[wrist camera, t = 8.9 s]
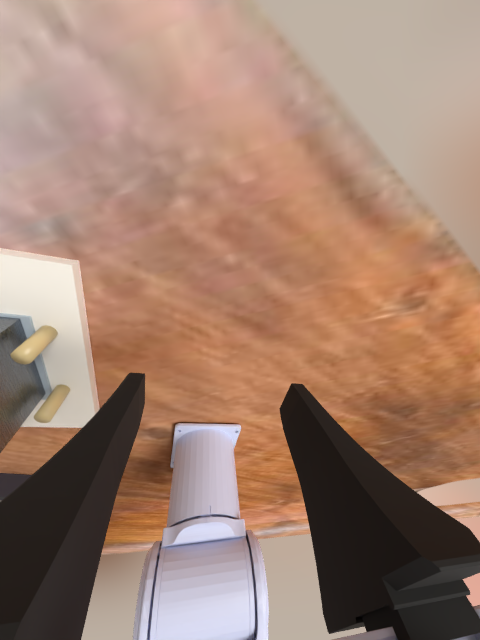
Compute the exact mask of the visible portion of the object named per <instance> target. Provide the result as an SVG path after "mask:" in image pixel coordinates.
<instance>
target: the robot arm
mask: <svg viewBox="0 0 480 640" xmlns="http://www.w3.org/2000/svg"><path fill="white" fill-rule="evenodd" d="M144 404H145V374H142V373H129V374H128V375H127V376H126V378H125V379H124V380H123V382H122V383H121V384H120V386H119V387H118V388H117V390H116V391H115V392H114V393H113V394H112V396H111V397H110V398H109V399H108V400H107V402H106V403H105V404H104V405H103V406H102V407H101V408H100V410H99V411H98V412H97V413H96V414H95V415H94V416H93V417H92V418H91V419H90V421H89V422H88V423H87V424H86V425H85V426H84V427H83V428H82V429H81V430H80V431H79V432H78V433H77V434H76V435H75V436H74V437H73V438H72V439H71V440H70V441H69V442H68V443H67V444H66V445H65V446H64V447H63V448H62V449H61V450H60V451H58V452H57V453H56V454H55V455H54V456H53V457H52V458H51V459H50V460H49V461H48V462H47V463H45V464H44V465H43V466H42V467H41V468H40V469H39V470H37V471H36V472H35V473H34V474H33V475H32V476H30V477H29V478H28V479H27V480H26V481H25V482H24V483H22V484H21V485H20V486H19V487H18V488H16V489H15V490H14V491H13V492H12V493H10V494H9V495H8V496H7V497H5V498H4V499H3V500H2V501H0V640H81V637H82V633H83V628H84V624H85V620H86V615H87V611H88V606H89V602H90V598H91V594H92V590H93V586H94V581H95V577H96V573H97V569H98V565H99V561H100V557H101V553H102V549H103V545H104V541H105V537H106V533H107V529H108V525H109V521H110V517H111V513H112V509H113V505H114V501H115V498H116V494H117V491H118V487H119V484H120V481H121V478H122V475H123V472H124V469H125V467H126V464H127V461H128V458H129V455H130V452H131V449H132V446H133V443H134V441H135V438H136V435H137V432H138V429H139V426H140V421H141V417H142V413H143V409H144ZM280 414H281V420H282V425H283V430H284V433H285V436H286V440H287V443H288V446H289V449H290V452H291V455H292V459H293V462H294V465H295V468H296V471H297V474H298V478H299V481H300V485H301V489H302V493H303V498H304V502H305V507H306V512H307V516H308V521H309V526H310V531H311V537H312V542H313V548H314V554H315V560H316V566H317V572H318V579H319V586H320V593H321V600H322V608H323V615H324V618H325V622H326V626H327V629H328V632H329V634H331V633H335V632H339V631H345V630H350V629H354V628H359V627H364V626H365V628H366V631H367V632H365V633H361V634H356V635H351V636H347V637H342V638H338V639H333V640H480V605H478V606H474V607H473V606H472V605H471V603H470V602H469V600H468V599H467V597H466V595H470V591H469V589H468V587H467V586H466V584H465V583H464V581H463V580H462V579H464V578H467V577H470V576H472V575H475V574H477V573H480V542H479V541H478V540H477V538H476V537H475V535H474V534H473V533H472V532H471V530H470V529H469V528H467V527H466V526H464V525H463V524H461V523H460V522H458V521H457V520H455V519H454V518H452V517H451V516H449V515H448V514H446V513H445V512H443V511H442V510H440V509H439V508H437V507H436V506H434V505H433V504H432V503H430V502H429V501H427V500H426V499H425V498H423V497H422V496H421V495H419V494H417V493H416V492H415V491H414V490H412V489H411V488H410V487H408V486H407V485H406V484H405V483H403V482H402V481H401V480H399V479H398V478H397V477H396V476H394V475H393V474H392V473H391V472H389V471H388V470H387V469H386V468H385V467H383V466H382V465H381V464H380V463H379V462H377V461H376V460H375V459H374V458H373V457H372V456H371V455H370V454H369V453H367V452H366V451H365V450H364V449H363V448H362V447H361V446H360V445H359V444H358V443H357V442H356V441H355V440H354V439H353V438H352V437H351V436H350V435H349V434H348V433H347V432H346V431H345V430H344V429H343V428H342V427H341V426H340V425H339V424H338V423H337V422H336V421H335V420H334V419H333V418H332V417H331V416H330V414H329V413H328V412H327V411H326V410H325V409H324V408H323V407H322V406H321V404H320V403H319V402H318V401H317V400H316V399H315V398H314V397H313V395H312V394H311V393H310V392H309V391H308V390H307V389H306V388H305V386H304V385H303V384H293V383H292V384H291V386H290V388H289V390H288V392H287V394H286V396H285V399H284V401H283V403H282V405H281V407H280ZM240 430H241V426H240V425H238V424H196V423H178V424H176V425H175V432H174V440H173V448H172V456H171V464H170V467H171V468H173V476H172V485H171V493H170V502H169V510H168V519H167V527H166V528H164V529H163V537H162V541H156V542H155V543H154V544H153V547H152V548H151V549H150V550H149V551H148V553H147V555H146V559H145V563H144V566H143V571H142V576H141V581H140V587H139V593H138V599H137V606H136V614H135V622H134V632H133V640H269V637H268V619H269V605H268V590H267V581H266V572H265V566H264V560H263V555H262V551H261V547H260V544H259V541H258V539H257V538H256V536H255V535H254V534H253V532H252V531H251V530H245V521H244V519H240V510H239V500H238V490H237V480H236V470H235V459H234V447H235V444H236V441H237V439H238V436H239V433H240Z"/></svg>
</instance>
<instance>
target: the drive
mask: <svg viewBox="0 0 480 640" xmlns="http://www.w3.org/2000/svg"><path fill="white" fill-rule="evenodd" d="M25 340H27V337H26V334H25V331H24V328H23V325H22V322H21V319H20V318H10V317H0V453H1V452H2V450H3V449H4V448H5V446H6V445H7V444H8V442H9V441H10V440H11V438H12V437H13V436H14V435H15V433H16V432H17V431H18V429H19V428H20V427H21V425H22V424H23V423H24V421H25V420H26V419H27V417H28V416H29V415H30V414H31V412H32V411H33V410H34V408H35V407H36V406H37V404H38V403H39V402H40V400H41V399H42V398H43V397H44V395H45V394H46V393H45V390H44V387H43V384H42V381H41V378H40V375H39V372H38V369H37V366H36V364H35V361H34V360H33V361H32V362H31V363H30V364H19V363H17V362H15V361H14V360H13V359H12V358H11V353H12V352H13V351H14V350H15V349H16V348H17V347H19V346H20V345H21V344H22V343H23V342H24V341H25Z"/></svg>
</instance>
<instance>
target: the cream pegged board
mask: <svg viewBox="0 0 480 640" xmlns="http://www.w3.org/2000/svg"><path fill="white" fill-rule="evenodd" d="M0 317H10V318H20V319H21V322H22V325H23V328H24V331H25V334H26V337H27V340H25V341H24V342H23V343H22V344H21V345H20V346H19V347H17V348H16V349H15V350H14V351H13V352H12V353H11V358H12V359H13V360H14V361H15V362H17V363H19V364H30V363H31V362H32V361H33V360H34V361H35V364H36V366H37V369H38V372H39V375H40V378H41V381H42V384H43V387H44V390H45V393H46V394H45V395H44V397H43V398H42V399H41V400H40V402H39V403H38V404H37V406H36V407H35V408H34V410H33V411H32V412H31V414H30V415H29V416H28V417H27V419H26V420H25V421H24V423H23V424H22V425H21V427H64V428H83V427H84V426H85V425H86V424H87V423H88V422H89V421H90V419H91V418H92V417H93V416H94V415H95V414H96V413H97V412H98V411H99V410H100V408H99V401H98V393H97V386H96V379H95V372H94V365H93V357H92V350H91V343H90V336H89V329H88V321H87V314H86V307H85V300H84V293H83V286H82V278H81V271H80V264H79V261H78V260H72V259H66V258H59V257H53V256H47V255H41V254H35V253H28V252H22V251H16V250H10V249H3V248H0Z"/></svg>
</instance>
